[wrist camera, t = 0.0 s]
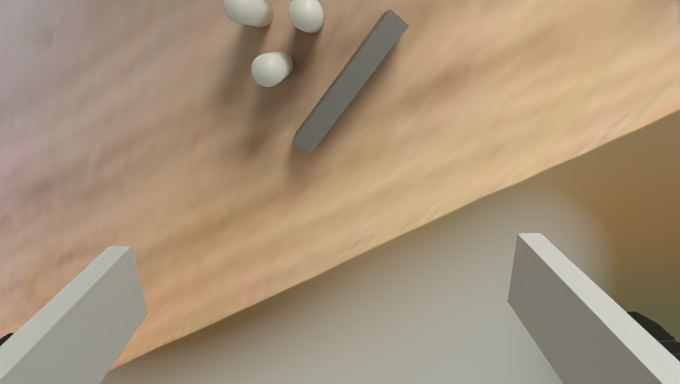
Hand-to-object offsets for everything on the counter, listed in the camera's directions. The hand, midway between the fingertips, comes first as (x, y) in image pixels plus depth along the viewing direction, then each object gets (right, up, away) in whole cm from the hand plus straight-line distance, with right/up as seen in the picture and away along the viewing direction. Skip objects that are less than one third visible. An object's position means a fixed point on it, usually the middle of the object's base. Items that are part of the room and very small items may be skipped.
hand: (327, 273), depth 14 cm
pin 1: (-5, +15, +24) cm, 29 cm away
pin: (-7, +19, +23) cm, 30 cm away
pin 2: (-2, +19, +23) cm, 30 cm away
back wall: (+1, +13, +25) cm, 28 cm away
